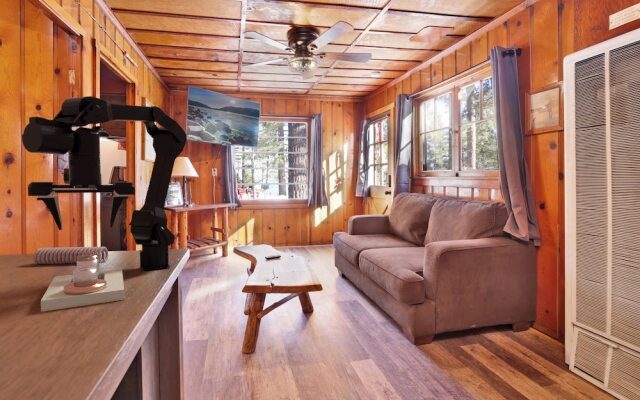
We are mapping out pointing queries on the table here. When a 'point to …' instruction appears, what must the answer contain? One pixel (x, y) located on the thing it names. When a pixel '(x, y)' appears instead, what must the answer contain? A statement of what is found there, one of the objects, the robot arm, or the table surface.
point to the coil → (67, 254)
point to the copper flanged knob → (85, 282)
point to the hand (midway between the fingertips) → (86, 228)
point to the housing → (60, 300)
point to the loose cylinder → (88, 261)
